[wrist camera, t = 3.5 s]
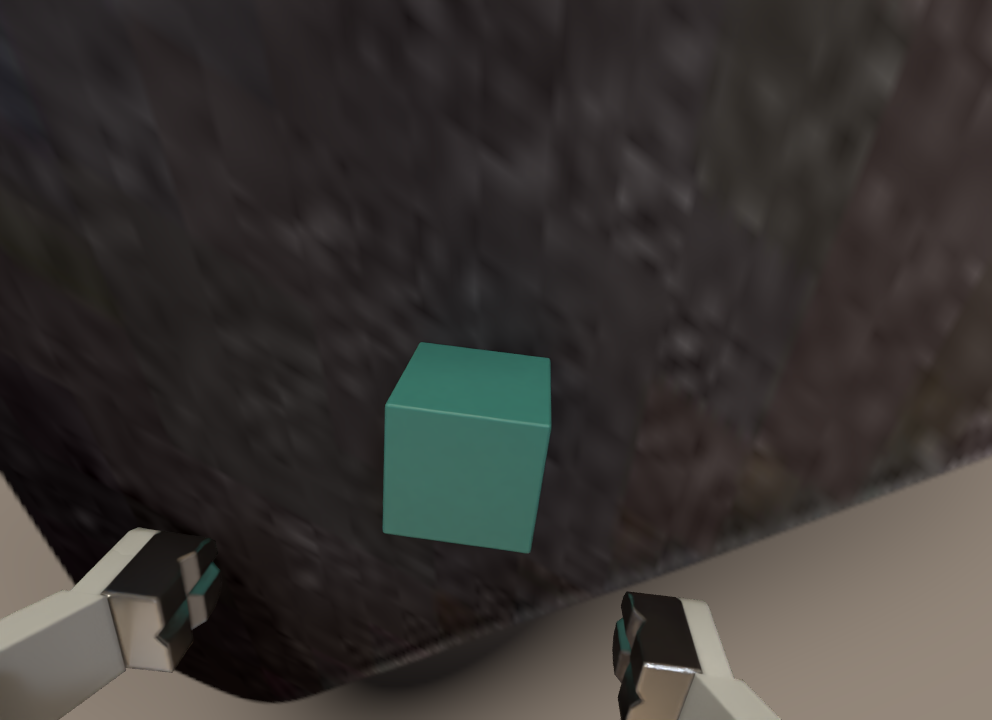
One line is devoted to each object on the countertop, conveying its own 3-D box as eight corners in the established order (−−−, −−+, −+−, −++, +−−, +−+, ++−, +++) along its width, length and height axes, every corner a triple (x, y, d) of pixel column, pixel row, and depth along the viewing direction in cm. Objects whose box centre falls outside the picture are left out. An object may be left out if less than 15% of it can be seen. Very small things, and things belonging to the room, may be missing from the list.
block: (550, 357, 16) (552, 426, 13) (533, 466, 18) (530, 555, 15) (419, 340, 17) (384, 404, 13) (414, 451, 18) (381, 534, 15)
